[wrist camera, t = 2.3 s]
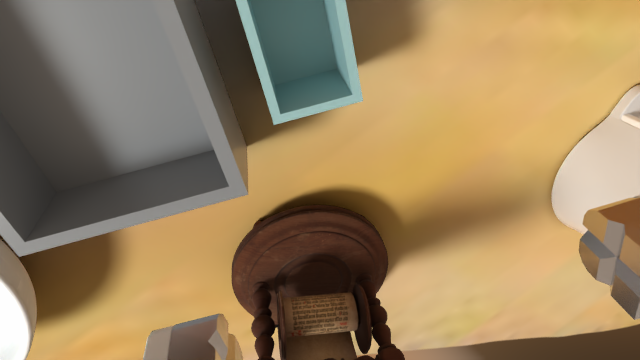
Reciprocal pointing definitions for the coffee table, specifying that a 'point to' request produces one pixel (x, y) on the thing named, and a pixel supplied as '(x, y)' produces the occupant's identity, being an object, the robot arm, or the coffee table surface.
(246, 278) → the brown tall piece
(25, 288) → the serving bowl
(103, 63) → the big crate
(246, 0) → the small crate
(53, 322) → the coffee table surface
